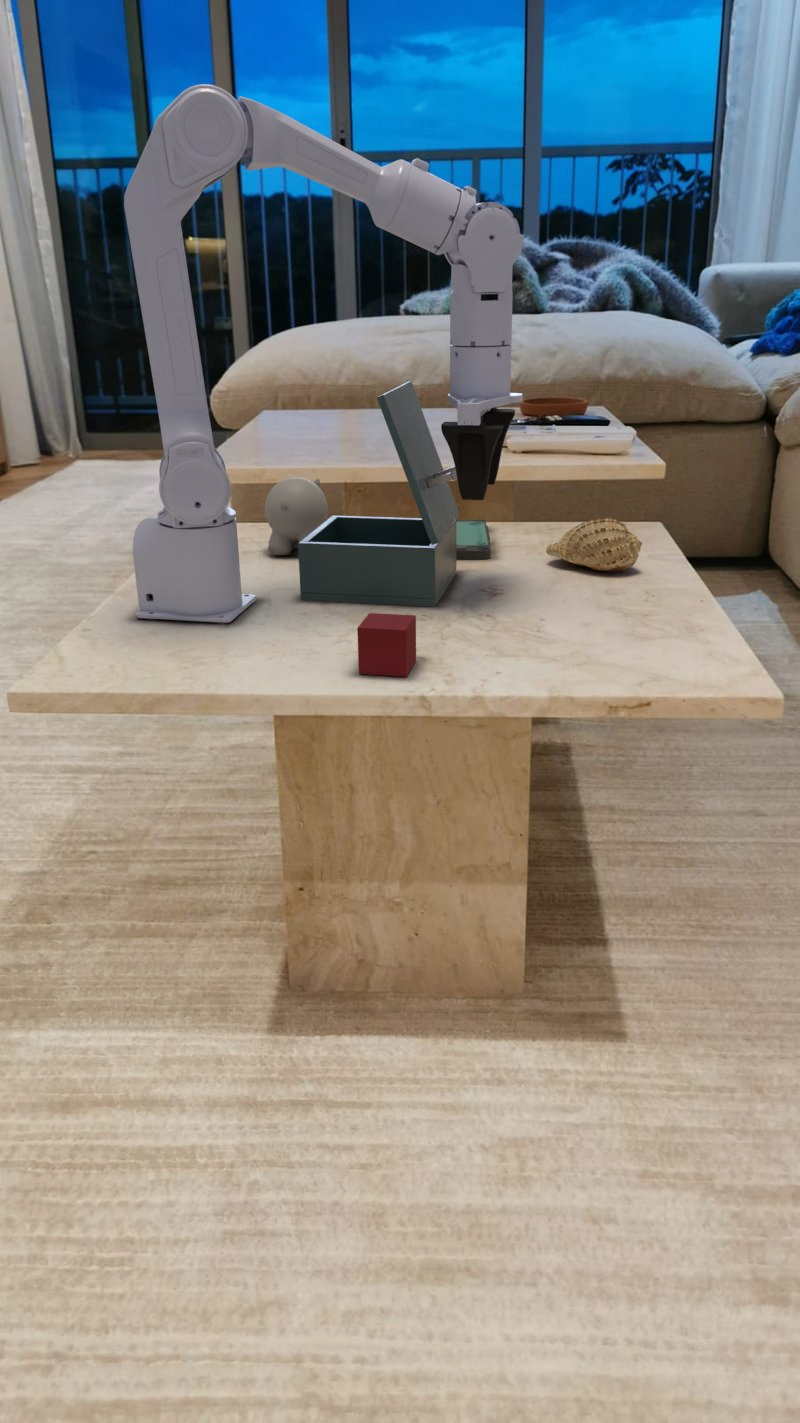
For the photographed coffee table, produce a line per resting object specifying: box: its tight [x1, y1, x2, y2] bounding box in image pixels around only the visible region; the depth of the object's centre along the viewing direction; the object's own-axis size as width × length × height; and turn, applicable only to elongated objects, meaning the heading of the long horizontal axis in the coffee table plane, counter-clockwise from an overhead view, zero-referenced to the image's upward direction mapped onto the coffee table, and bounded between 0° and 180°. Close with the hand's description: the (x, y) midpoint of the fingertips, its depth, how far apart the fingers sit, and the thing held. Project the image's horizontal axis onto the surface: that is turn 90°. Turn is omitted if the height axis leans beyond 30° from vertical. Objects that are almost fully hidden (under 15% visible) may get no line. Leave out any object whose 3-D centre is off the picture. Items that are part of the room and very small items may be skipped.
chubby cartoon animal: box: [264, 476, 329, 556], centre depth 125 cm, size 7×12×8 cm, turn 171°
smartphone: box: [456, 519, 492, 560], centre depth 127 cm, size 7×1×15 cm
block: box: [356, 612, 417, 678], centre depth 88 cm, size 4×4×4 cm
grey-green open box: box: [297, 515, 458, 608], centre depth 110 cm, size 14×13×6 cm
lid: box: [376, 380, 460, 545], centre depth 104 cm, size 14×13×5 cm
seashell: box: [545, 517, 643, 573], centre depth 116 cm, size 8×6×10 cm
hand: (478, 491), depth 105 cm, fingers open, 7 cm apart
